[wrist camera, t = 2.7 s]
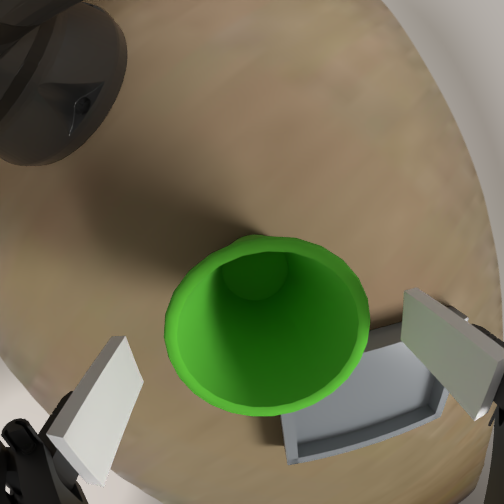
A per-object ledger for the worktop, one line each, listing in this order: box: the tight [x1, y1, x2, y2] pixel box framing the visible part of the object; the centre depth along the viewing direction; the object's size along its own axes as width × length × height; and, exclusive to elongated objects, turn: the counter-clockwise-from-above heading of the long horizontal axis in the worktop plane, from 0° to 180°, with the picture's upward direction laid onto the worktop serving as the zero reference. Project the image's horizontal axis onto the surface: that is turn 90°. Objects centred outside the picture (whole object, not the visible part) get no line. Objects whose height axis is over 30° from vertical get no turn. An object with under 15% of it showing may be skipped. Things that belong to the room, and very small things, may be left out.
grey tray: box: [280, 306, 468, 465], centre depth 25 cm, size 14×19×3 cm
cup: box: [164, 234, 370, 416], centre depth 17 cm, size 9×9×11 cm
